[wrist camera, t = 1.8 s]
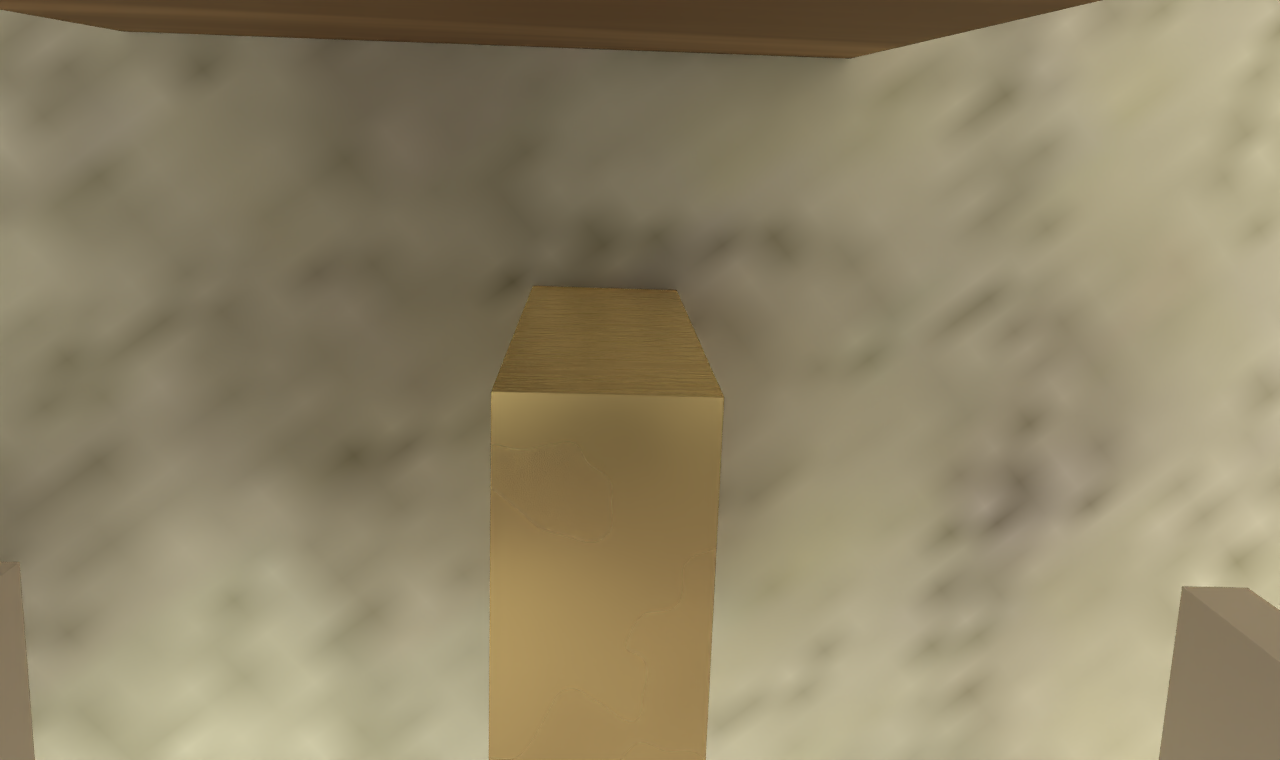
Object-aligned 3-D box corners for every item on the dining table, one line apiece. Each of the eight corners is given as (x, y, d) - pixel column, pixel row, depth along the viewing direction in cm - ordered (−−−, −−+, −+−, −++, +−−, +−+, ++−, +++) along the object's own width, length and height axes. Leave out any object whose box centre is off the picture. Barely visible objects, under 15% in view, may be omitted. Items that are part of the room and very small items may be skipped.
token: (532, 286, 20) (491, 391, 12) (676, 290, 20) (723, 397, 13) (528, 608, 22) (487, 885, 14) (663, 610, 22) (699, 887, 14)
